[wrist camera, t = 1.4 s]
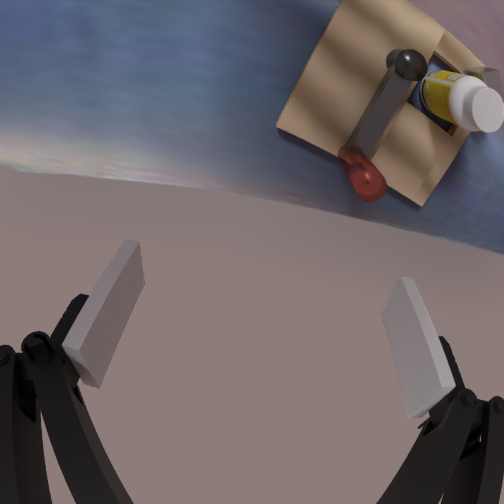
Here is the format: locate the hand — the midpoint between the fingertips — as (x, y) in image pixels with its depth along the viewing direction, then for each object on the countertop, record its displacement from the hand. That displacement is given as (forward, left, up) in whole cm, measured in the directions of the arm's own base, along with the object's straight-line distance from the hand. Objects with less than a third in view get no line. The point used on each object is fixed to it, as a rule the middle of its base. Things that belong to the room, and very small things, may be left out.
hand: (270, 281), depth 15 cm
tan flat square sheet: (-13, +10, -25) cm, 30 cm away
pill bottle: (-17, +15, -25) cm, 34 cm away
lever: (-10, +8, -23) cm, 26 cm away
